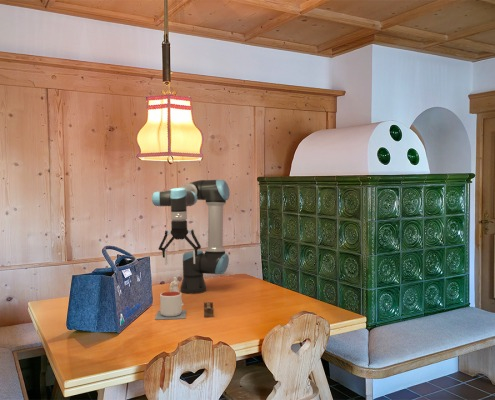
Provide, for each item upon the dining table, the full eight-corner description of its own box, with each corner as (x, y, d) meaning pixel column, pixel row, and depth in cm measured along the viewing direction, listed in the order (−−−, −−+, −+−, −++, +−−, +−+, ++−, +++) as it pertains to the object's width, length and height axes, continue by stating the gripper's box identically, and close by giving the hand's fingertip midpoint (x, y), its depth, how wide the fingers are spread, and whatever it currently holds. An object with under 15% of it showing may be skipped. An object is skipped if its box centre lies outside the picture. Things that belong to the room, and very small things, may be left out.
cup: (156, 314, 230) (155, 294, 229) (172, 310, 237) (172, 290, 236) (169, 318, 223) (168, 297, 222) (185, 314, 230) (185, 293, 230)
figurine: (169, 307, 244) (168, 278, 243) (164, 303, 252) (164, 275, 251) (185, 305, 247) (185, 276, 246) (181, 301, 255) (180, 273, 255)
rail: (204, 310, 237) (203, 302, 237) (212, 310, 238) (212, 302, 238) (204, 317, 225) (204, 309, 225) (213, 317, 226) (213, 308, 226)
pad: (157, 311, 236) (157, 311, 236) (186, 310, 238) (186, 309, 238) (155, 320, 222) (154, 319, 222) (185, 318, 224) (185, 318, 224)
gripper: (152, 221, 226) (153, 266, 227) (204, 220, 228) (206, 264, 229) (153, 220, 234) (155, 263, 235) (205, 218, 236) (206, 261, 237)
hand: (180, 263), depth 232 cm, fingers open, 13 cm apart
